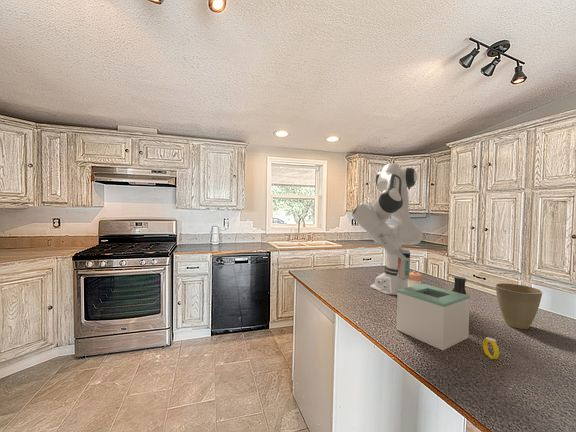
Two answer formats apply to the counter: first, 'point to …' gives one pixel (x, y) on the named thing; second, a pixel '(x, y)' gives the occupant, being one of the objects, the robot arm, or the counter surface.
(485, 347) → the watch
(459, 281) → the sauce bottle
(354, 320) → the counter surface
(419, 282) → the pepper shaker
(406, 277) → the beer can
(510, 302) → the plant pot
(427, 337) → the recycling bin
